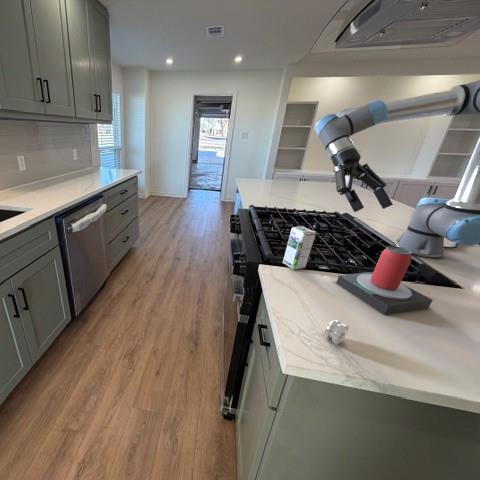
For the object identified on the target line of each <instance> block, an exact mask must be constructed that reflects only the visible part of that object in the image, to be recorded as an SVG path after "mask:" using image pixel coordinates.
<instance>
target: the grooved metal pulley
mask: <svg viewBox="0 0 480 480" xmlns="http://www.w3.org/2000/svg"><path fill="white" fill-rule="evenodd" d="M340 323H341V322H340V320H338V319H333V320H331V321H330V322H329V323H328V325H327V326H326V328H325V329H324V333H323V336H324V337H325V339H327V340H330V339H331V342H332V343H334V344H335V345H339V344H340V343H341V342H342V341H343V340H344V339H345V337H346V335H348V332H349V330H350V329H349V328H350V327H349V326H348V325H347V324H346V323H345V324H344V323H342V324H340Z"/></svg>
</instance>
